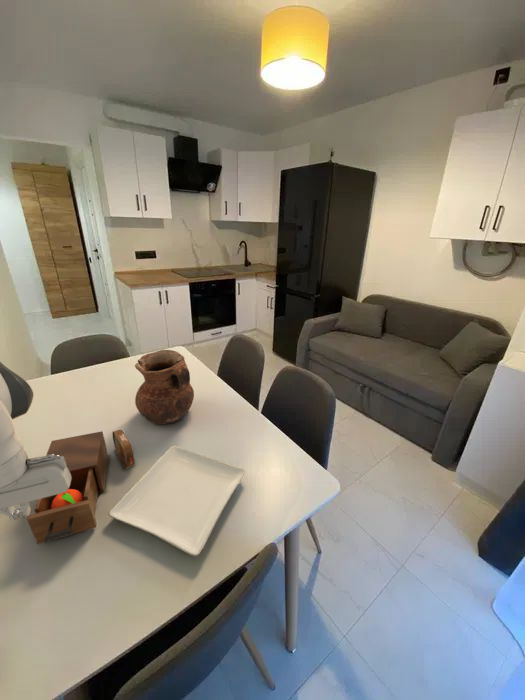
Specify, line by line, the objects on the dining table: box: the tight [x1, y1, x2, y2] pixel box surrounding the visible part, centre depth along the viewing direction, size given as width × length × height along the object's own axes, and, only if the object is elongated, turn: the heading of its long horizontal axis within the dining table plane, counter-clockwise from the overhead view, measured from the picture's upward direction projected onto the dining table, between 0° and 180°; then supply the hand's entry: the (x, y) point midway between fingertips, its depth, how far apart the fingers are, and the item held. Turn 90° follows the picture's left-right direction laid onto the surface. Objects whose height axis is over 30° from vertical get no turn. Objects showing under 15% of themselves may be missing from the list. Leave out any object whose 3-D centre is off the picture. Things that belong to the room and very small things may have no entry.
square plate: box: [107, 445, 246, 557], centre depth 82 cm, size 27×27×4 cm
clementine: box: [51, 489, 83, 509], centre depth 74 cm, size 8×7×7 cm
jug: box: [134, 349, 195, 425], centre depth 113 cm, size 22×21×25 cm
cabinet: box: [46, 430, 109, 494], centre depth 85 cm, size 15×14×11 cm
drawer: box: [26, 468, 99, 545], centre depth 73 cm, size 18×12×9 cm
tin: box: [111, 429, 136, 469], centre depth 94 cm, size 15×3×8 cm, turn 40°
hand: (21, 515), depth 60 cm, fingers closed
